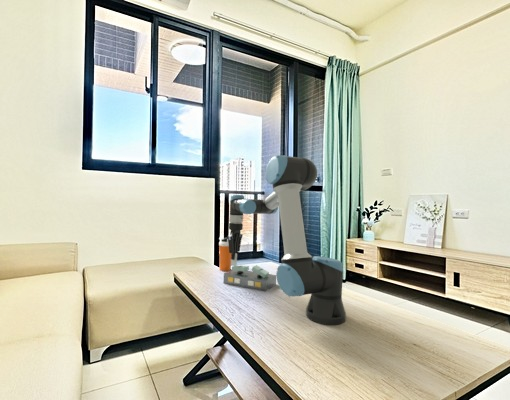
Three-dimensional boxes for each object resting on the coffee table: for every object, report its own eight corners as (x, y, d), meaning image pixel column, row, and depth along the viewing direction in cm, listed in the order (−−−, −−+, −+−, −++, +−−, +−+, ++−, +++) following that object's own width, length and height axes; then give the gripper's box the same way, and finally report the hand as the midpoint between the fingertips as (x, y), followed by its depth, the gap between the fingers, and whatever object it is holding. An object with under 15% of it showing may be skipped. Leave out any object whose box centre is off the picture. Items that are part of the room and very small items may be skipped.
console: (265, 291, 137) (266, 278, 137) (223, 283, 148) (223, 271, 148) (275, 284, 149) (276, 272, 149) (235, 277, 160) (236, 266, 160)
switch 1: (244, 271, 148) (244, 267, 148) (232, 270, 151) (232, 266, 151) (248, 269, 152) (248, 265, 152) (236, 268, 155) (236, 264, 155)
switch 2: (264, 277, 143) (265, 274, 142) (251, 270, 146) (252, 266, 145) (267, 275, 147) (269, 272, 146) (255, 268, 150) (256, 264, 150)
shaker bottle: (233, 268, 181) (234, 237, 181) (230, 271, 172) (231, 239, 172) (219, 267, 182) (220, 237, 182) (216, 270, 173) (217, 238, 173)
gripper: (235, 224, 145) (233, 268, 146) (247, 222, 157) (245, 263, 158) (223, 222, 149) (221, 266, 149) (236, 221, 160) (233, 261, 161)
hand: (233, 265), depth 153 cm, fingers closed
